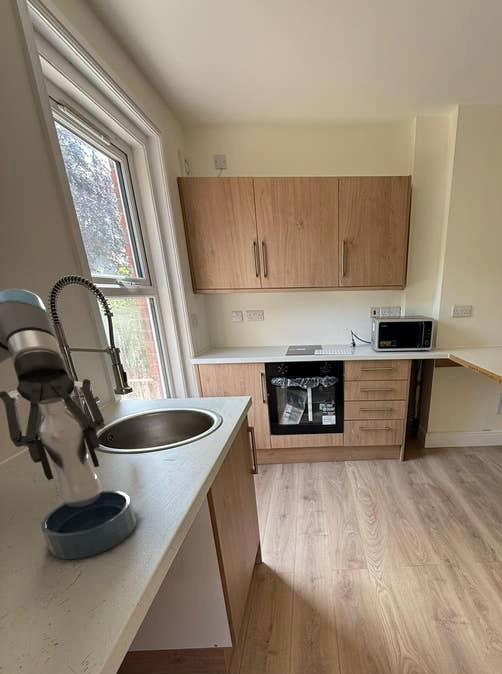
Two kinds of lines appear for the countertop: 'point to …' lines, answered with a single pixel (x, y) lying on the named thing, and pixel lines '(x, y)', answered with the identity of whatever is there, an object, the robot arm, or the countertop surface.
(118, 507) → the bowl
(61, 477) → the plastic bottle
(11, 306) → the robot arm
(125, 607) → the countertop surface
